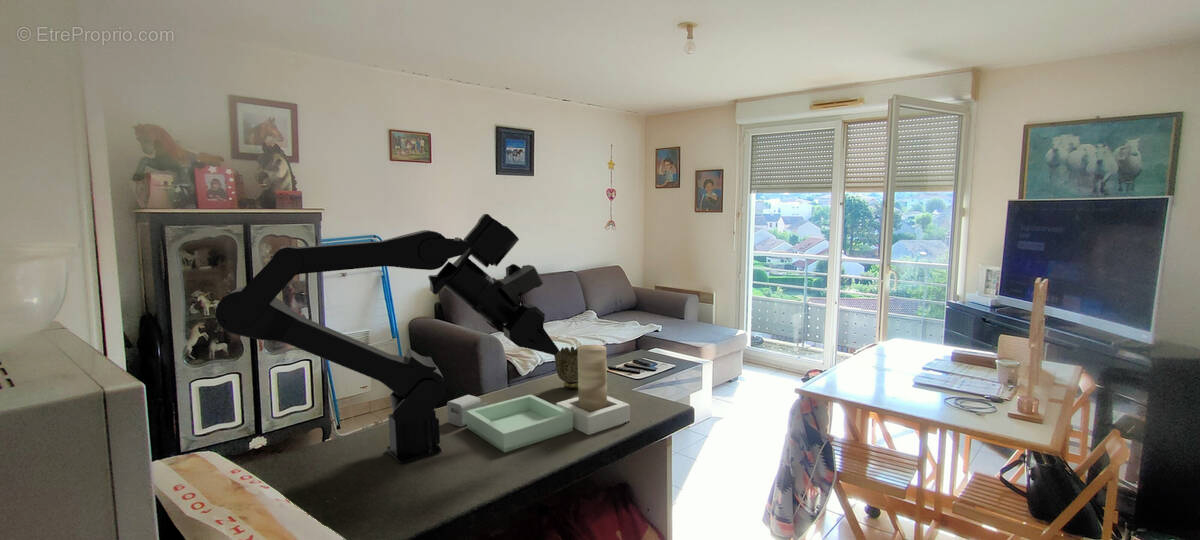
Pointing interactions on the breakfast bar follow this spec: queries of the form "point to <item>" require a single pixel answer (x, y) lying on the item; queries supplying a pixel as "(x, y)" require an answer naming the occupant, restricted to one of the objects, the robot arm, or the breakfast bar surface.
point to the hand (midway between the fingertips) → (547, 346)
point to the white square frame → (597, 415)
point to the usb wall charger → (462, 409)
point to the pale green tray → (519, 422)
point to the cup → (567, 367)
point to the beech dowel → (592, 377)
